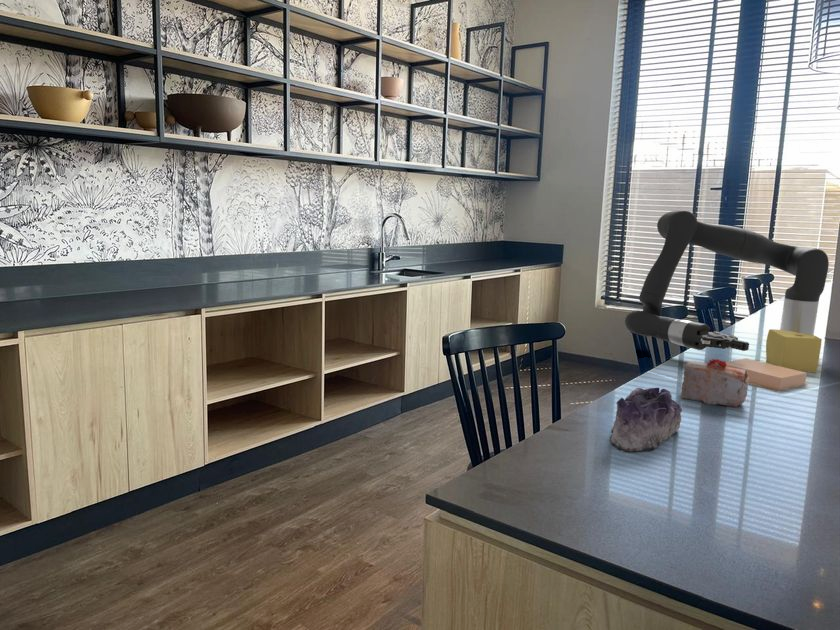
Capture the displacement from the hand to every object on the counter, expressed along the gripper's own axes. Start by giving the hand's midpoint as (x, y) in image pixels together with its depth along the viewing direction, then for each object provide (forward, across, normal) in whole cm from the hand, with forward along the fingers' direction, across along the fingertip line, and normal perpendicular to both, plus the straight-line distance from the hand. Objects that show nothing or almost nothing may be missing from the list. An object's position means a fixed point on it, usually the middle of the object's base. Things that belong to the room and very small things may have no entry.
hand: (747, 346), depth 169 cm
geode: (+18, -63, +8) cm, 66 cm away
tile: (-3, 0, +6) cm, 7 cm away
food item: (+10, -29, +8) cm, 32 cm away
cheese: (0, +23, +8) cm, 25 cm away
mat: (+2, 0, +8) cm, 8 cm away
